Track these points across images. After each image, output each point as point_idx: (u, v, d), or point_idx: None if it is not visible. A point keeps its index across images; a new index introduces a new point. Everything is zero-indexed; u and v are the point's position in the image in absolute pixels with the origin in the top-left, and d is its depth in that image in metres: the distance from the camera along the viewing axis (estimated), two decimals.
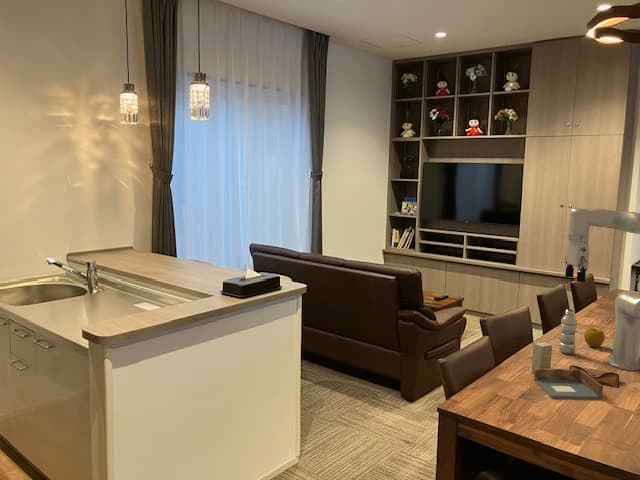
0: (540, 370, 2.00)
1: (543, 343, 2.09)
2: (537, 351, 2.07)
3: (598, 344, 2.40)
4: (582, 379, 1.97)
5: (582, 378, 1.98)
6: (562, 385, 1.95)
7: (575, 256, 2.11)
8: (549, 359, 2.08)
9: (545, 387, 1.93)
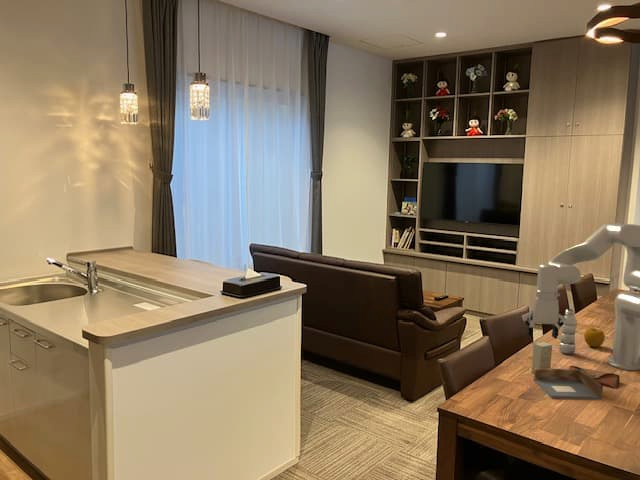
0: (540, 370, 2.00)
1: (543, 343, 2.09)
2: (537, 351, 2.07)
3: (598, 344, 2.40)
4: (582, 379, 1.97)
5: (582, 378, 1.98)
6: (562, 385, 1.95)
7: (555, 314, 2.04)
8: (549, 359, 2.08)
9: (545, 387, 1.93)
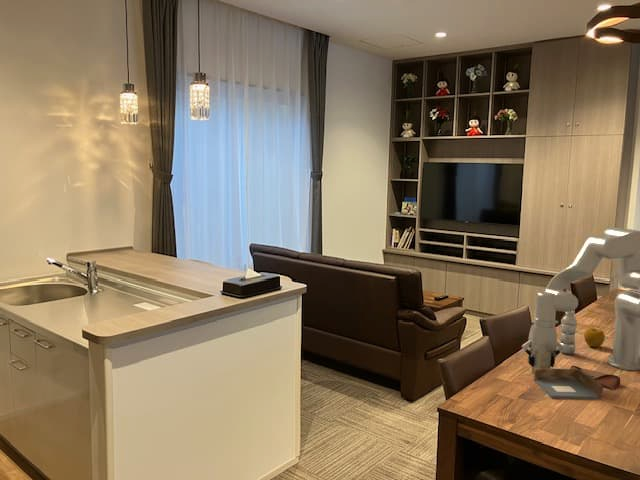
0: (540, 370, 2.00)
1: None
2: (537, 351, 2.07)
3: (598, 344, 2.40)
4: (582, 379, 1.97)
5: (582, 378, 1.98)
6: (562, 385, 1.95)
7: (554, 341, 2.06)
8: (549, 359, 2.08)
9: (545, 387, 1.93)
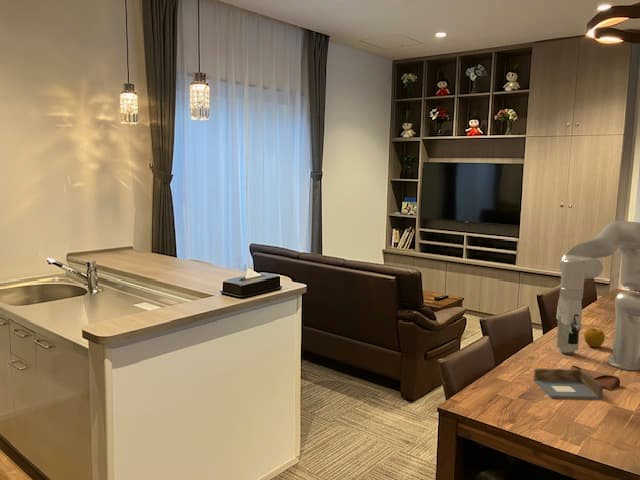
0: (540, 370, 2.00)
1: None
2: None
3: (598, 344, 2.40)
4: (582, 379, 1.97)
5: (582, 378, 1.98)
6: (562, 385, 1.95)
7: None
8: None
9: (545, 387, 1.93)
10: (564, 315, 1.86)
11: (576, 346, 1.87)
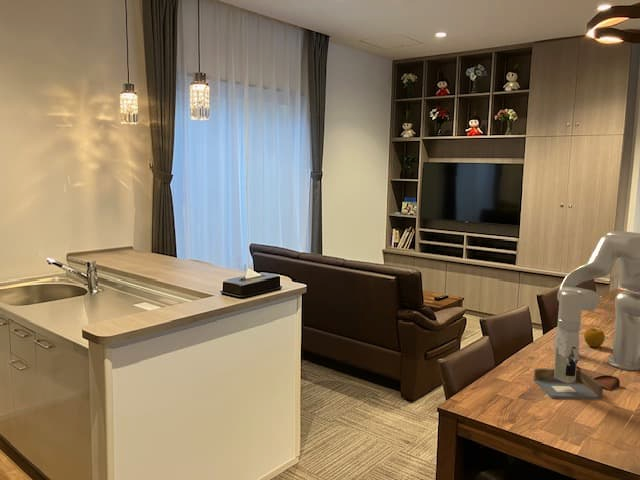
0: (540, 370, 2.00)
1: None
2: None
3: (598, 344, 2.40)
4: (582, 379, 1.97)
5: (582, 378, 1.98)
6: (562, 385, 1.95)
7: None
8: None
9: (545, 387, 1.93)
10: (562, 347, 1.88)
11: (573, 378, 1.89)
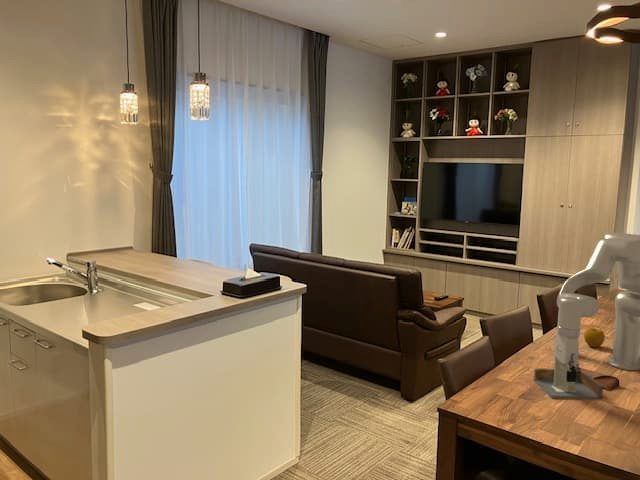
0: (540, 370, 2.00)
1: None
2: None
3: (598, 344, 2.40)
4: (582, 379, 1.97)
5: (582, 378, 1.98)
6: None
7: None
8: None
9: (545, 387, 1.93)
10: (561, 353, 1.88)
11: (572, 387, 1.89)
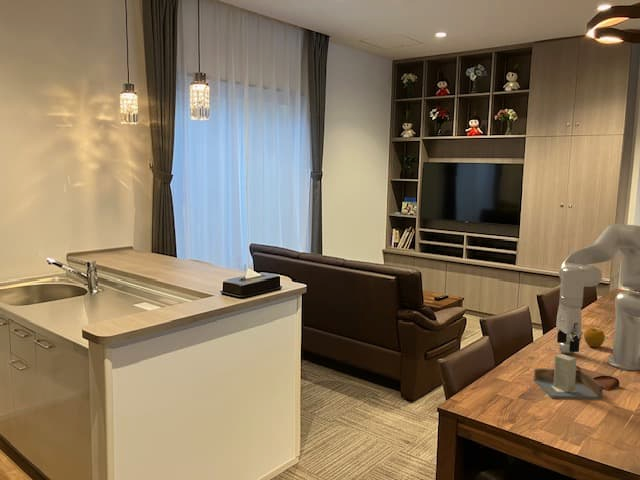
0: (540, 370, 2.00)
1: (562, 356, 1.91)
2: (573, 366, 1.88)
3: (598, 344, 2.40)
4: (582, 379, 1.97)
5: (582, 378, 1.98)
6: None
7: None
8: None
9: (545, 387, 1.93)
10: (564, 324, 1.87)
11: (572, 387, 1.89)
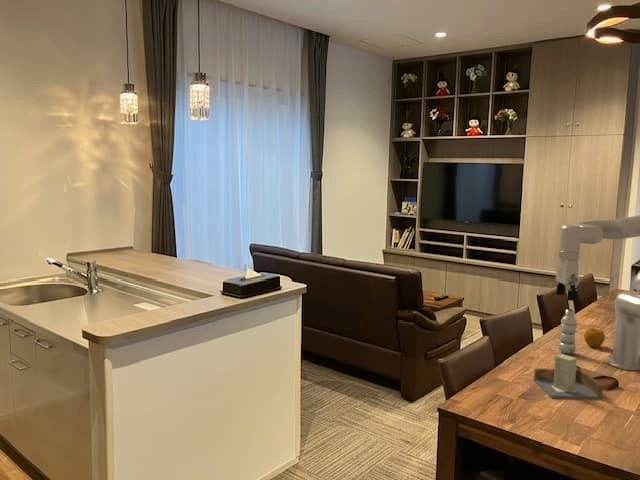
0: (540, 370, 2.00)
1: (562, 356, 1.91)
2: (573, 366, 1.88)
3: (598, 344, 2.40)
4: (582, 379, 1.97)
5: (582, 378, 1.98)
6: None
7: None
8: None
9: (545, 387, 1.93)
10: (562, 275, 2.08)
11: (572, 387, 1.89)
